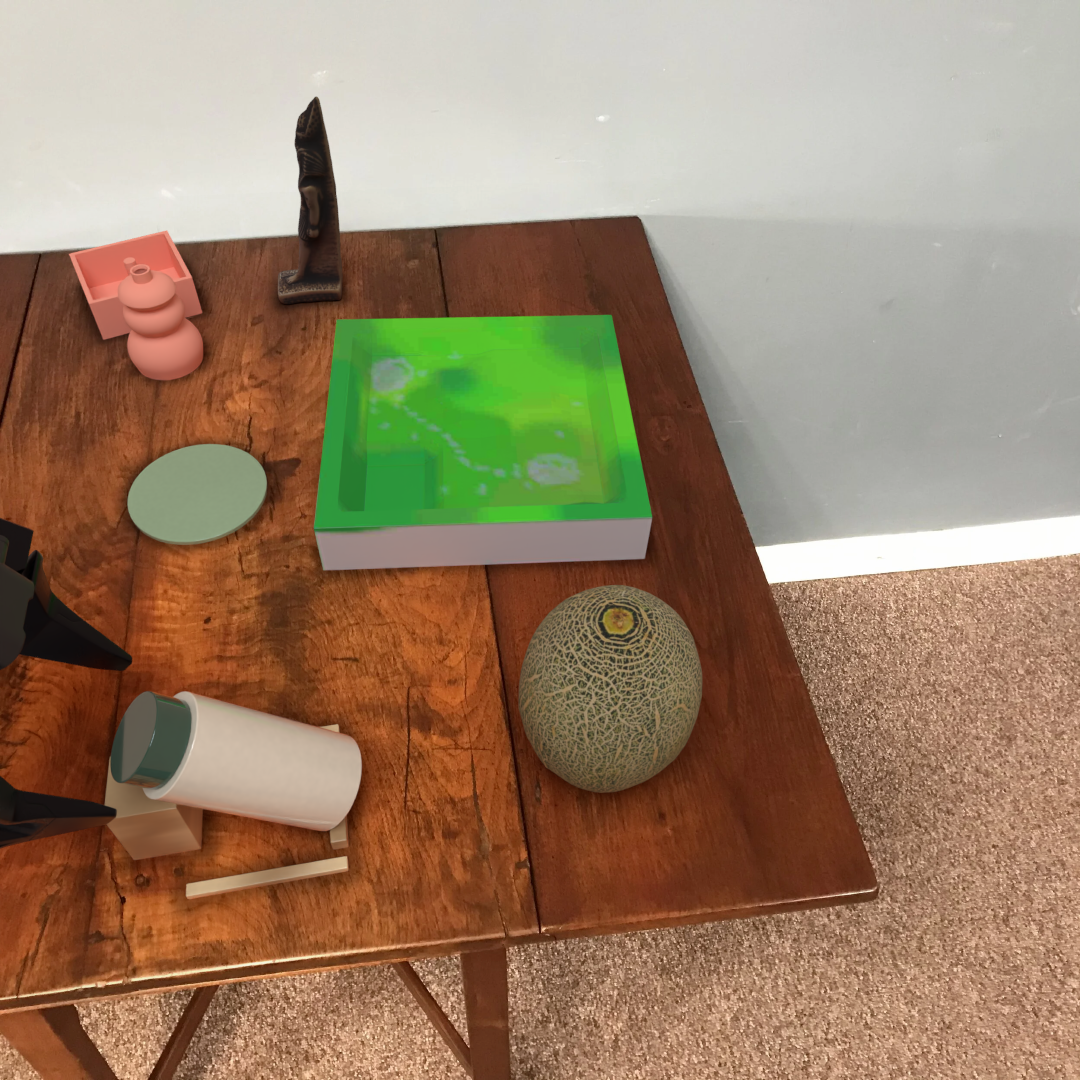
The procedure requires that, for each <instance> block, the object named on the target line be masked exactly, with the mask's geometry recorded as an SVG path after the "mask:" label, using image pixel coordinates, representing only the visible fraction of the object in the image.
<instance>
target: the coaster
mask: <svg viewBox="0 0 1080 1080" xmlns="http://www.w3.org/2000/svg"><path fill="white" fill-rule="evenodd" d="M267 494H268V478H267V475H266V471H265V470H264V467H263V466H262V464H261V463H260V462H259V461H258V459H256V458H255V457H254V456H253V455H252V454H250V453H249V452H247V451H245V450H243V449H241V448H238V447H235V446H231V445H227V444H221V443H204V444H203V443H201V444H194V445H193V444H192V445H189V446H184V447H181V448H178V449H175V450H173V451H170V452H168V453H166V454H163V455H162V456H160V457H158V458H157V459H155V460H154V461H152V462H151V463H149V464H148V465H147V466H146V467H145V468H144V469H143V470H141V471H140V473H139V474H138V475H137V476H136V477H135V479H134V481H133V482H132V484H131V486H130V489H129V491H128V496H127V504H126V505H127V512H128V515H129V516H130V519H131V521H132V522H133V524H134V526H135V527H136V528H137V529H138V530H139V531H140V532H141V533H143V534H144V535H145V536H147V537H149V538H150V539H153V540H156V541H158V542H161V543H164V544H169V545H175V546H176V545H178V546H190V545H191V546H193V545H200V544H206V543H210V542H213V541H217V540H219V539H222V538H225V537H227V536H229V535H231V534H233V533H235V532H236V531H238V530H240V529H242V528H243V527H244V526H246V524H248V523H249V522H251V520H252V519H254V517H256V515H257V514H258V512H259V511H260V510H261V508H262V507H263V505H264V502H265V500H266V498H267Z"/></svg>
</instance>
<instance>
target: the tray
mask: <svg viewBox="0 0 1080 1080" xmlns="http://www.w3.org/2000/svg"><path fill="white" fill-rule="evenodd" d="M335 322H336V323H335V332H334V340H333V349H332V359H331V367H330V377H329V384H328V385H329V387H328V394H327V405H326V414H325V421H324V422H325V423H324V431H323V441H322V450H321V460H320V469H319V475H318V476H319V477H318V485H317V486H318V487H317V495H316V505H315V512H314V513H315V514H314V522H313V532H314V536H315V541H316V544H317V549H318V553H319V557H320V562H321V567H322V570H323V571H345V570H346V571H347V570H348V571H349V570H373V569H400V568H401V569H402V568H432V567H454V566H455V567H457V566H483V565H484V566H485V565H510V564H512V565H513V564H538V563H561V562H562V563H565V562H593V561H594V562H597V561H622V560H624V561H625V560H626V561H627V560H645V559H646V555H647V548H648V543H649V537H650V532H651V527H652V522H653V513H652V509H651V504H650V500H649V494H648V488H647V483H646V479H645V473H644V469H643V463H642V459H641V453H640V447H639V445H638V439H637V434H636V428H635V424H634V420H633V419H634V418H633V414H632V409H631V405H630V399H629V394H628V389H627V384H626V380H625V379H626V378H625V375H624V374H625V373H624V369H623V365H622V359H621V354H620V349H619V344H618V339H617V334H616V329H615V325H614V319H613V315H612V314H581V315H580V314H578V315H577V314H576V315H524V316H523V315H520V316H516V315H515V316H467V317H466V316H464V317H462V316H460V317H409V318H408V317H406V318H404V317H403V318H402V317H401V318H399V317H398V318H397V317H396V318H350V319H349V318H347V319H346V318H345V319H344V318H343V319H336V321H335Z"/></svg>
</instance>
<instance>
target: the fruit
mask: <svg viewBox="0 0 1080 1080" xmlns="http://www.w3.org/2000/svg"><path fill="white" fill-rule="evenodd" d="M694 638H695V637H694V636H693V635H692V633H691V631H690V630H689V627H688V626H687V624H686V622H685V621H684V620H683V618H682V616H681V615H680V614H679V613H677V612H676V610H674V608H673V607H671V606H670V605H669V604H667V603H666V602H665V601H663V600H662V599H660V598H659V597H657V596H656V595H653V594H652V593H650V592H648V591H645V590H643V589H639V588H637V587H634V586H630V585H625V584H609V585H601V586H600V585H599V586H597V587H592V588H589V589H585V590H582V591H580V592H578V593H575V594H573V595H571V596H569V597H567V598H565V599H564V600H563V601H561V602H560V603H559V604H557V605H556V606H555V607H554V608H553V609H551V610H550V611H549V612H548V614H546V616H545V617H544V618H543V620H542V621H541V622H540V623H539V625H538V626H537V628H536V629H535V631H534V633H533V634H532V637H531V638H530V641H529V643H528V646H527V649H526V651H525V654H524V658H523V661H522V665H521V668H520V669H521V670H520V674H519V680H518V682H519V683H518V711H519V715H520V719H521V723H522V726H523V729H524V733H525V736H526V739H527V740H528V742H529V743H530V745H531V747H532V749H533V751H534V752H535V754H536V756H537V758H539V761H541V763H542V764H543V765H544V767H545V768H546V769H547V770H549V771H551V773H553V774H555V775H556V776H558V777H559V778H561V779H562V780H564V781H565V782H567V783H568V784H570V785H571V786H574V787H575V788H578V789H581V790H584V791H589V792H592V793H600V794H602V793H603V794H605V793H617V792H621V791H625V790H627V789H630V788H632V787H636V786H637V785H640V784H643V783H644V782H646V781H648V780H651V779H652V778H653V777H655V776H657V775H658V774H660V772H662V771H664V770H665V769H666V768H667V767H668V766H669V765H670V764H671V763H672V762H674V761H676V759H677V757H678V756H679V755H680V754H681V752H682V751H683V749H684V748H685V747H686V745H687V743H688V740H689V739H690V737H691V734H692V732H693V729H694V726H695V724H696V721H697V719H698V716H699V711H700V707H701V702H702V697H703V671H702V665H701V660H700V656H699V653H698V650H697V649H698V648H697V646H696V643H695V639H694Z"/></svg>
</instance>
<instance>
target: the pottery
mask: <svg viewBox="0 0 1080 1080" xmlns="http://www.w3.org/2000/svg"><path fill="white" fill-rule="evenodd" d="M68 255H69V258H70V260H71V263H72V266H73V268H74V270H75V273H76V275H77V278H78V280H79V283H80V286H81V288H82V290H83V294H84V295H85V297H86V300H87V303H88V306H89V308H90V310H91V313H92V315H93V317H94V320H95V323H96V325H97V328H98V330H99V333H100V334H101V338H102V340H103V341H105V340H108V339H112V338H115V337H119V336H123V335H126V334H128V338H127V345H126V346H127V353H128V355H129V358H130V360H131V362H132V363H133V365H134V366H135V367H136V369H137V370H138V371H139V372H140V374H141V375H143V376H144V377H146V378H148V379H151V380H157V381H171V380H176V379H179V378H183V377H186V376H188V375H189V374H191V373H193V372H194V371H196V370H197V369H198V368H199V366H201V364H202V362H203V359H204V340H203V337H202V335H201V332H200V331H199V329H198V328H197V326H195V324H194V323H193V322H192V321H190V320H189V319H188V318H190V317H193V316H198V315H201V314H203V310H202V306H201V303H200V300H199V296H198V293H197V289H196V286H195V282H194V280H193V276H192V275H191V273H190V271H189V269H188V267H187V265H186V263H185V262H184V260H183V257H182V255H181V254H180V252H179V250H178V248H177V246H176V244H175V243H174V241H173V239H172V237H171V235H170V233H169V231H168V230H163V231H158V232H154V233H150V234H145V235H141V236H138V237H133V238H129V239H125V240H121V241H117V242H113V243H109V244H104V245H99V246H95V247H91V248H87V249H83V250H79V251H74V252H70V253H68Z"/></svg>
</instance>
